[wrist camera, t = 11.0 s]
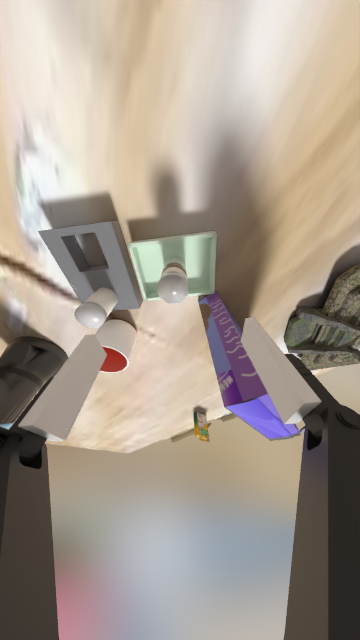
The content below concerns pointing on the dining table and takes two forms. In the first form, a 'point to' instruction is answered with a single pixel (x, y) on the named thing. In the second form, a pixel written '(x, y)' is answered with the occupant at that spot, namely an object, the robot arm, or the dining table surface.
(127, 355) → the cup
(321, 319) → the metal base with loops
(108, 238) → the fuse holder block
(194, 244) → the parts tray
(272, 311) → the dining table surface
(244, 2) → the dining table surface
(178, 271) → the cylinder
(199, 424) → the crayon box
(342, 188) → the dining table surface
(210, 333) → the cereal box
